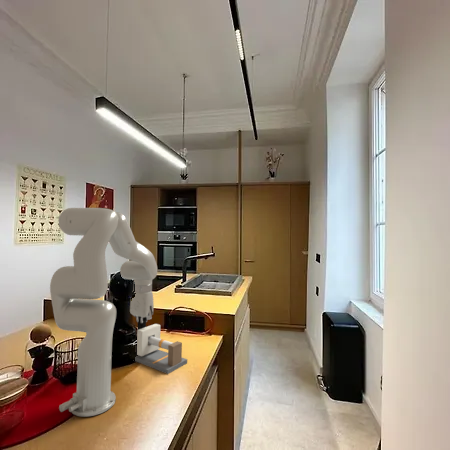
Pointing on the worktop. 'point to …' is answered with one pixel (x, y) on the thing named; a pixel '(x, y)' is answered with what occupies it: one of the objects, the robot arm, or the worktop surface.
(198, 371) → the worktop surface
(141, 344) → the collar
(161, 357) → the rod rig
